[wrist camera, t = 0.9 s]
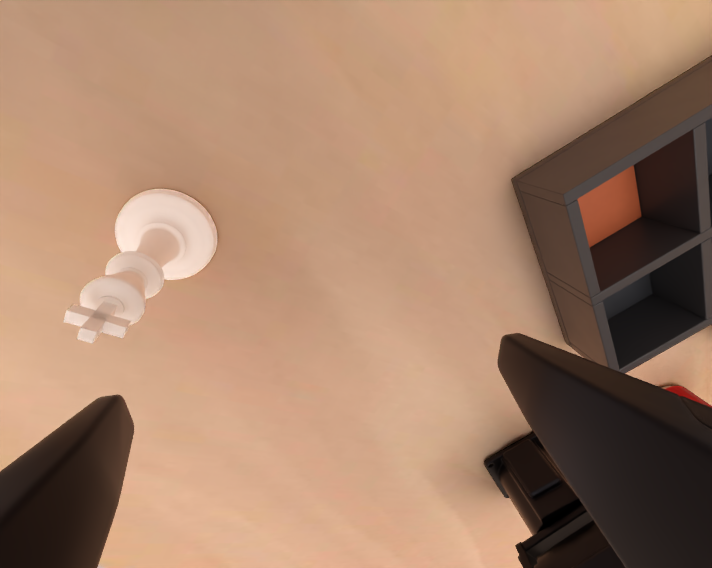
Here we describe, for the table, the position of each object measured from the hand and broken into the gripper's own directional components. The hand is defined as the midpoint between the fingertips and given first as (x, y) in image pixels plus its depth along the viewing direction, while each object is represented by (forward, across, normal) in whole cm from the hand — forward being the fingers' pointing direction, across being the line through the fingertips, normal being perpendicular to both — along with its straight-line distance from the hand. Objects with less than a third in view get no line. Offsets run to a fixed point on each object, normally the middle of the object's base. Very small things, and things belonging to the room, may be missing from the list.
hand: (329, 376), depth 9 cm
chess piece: (+14, +7, 0) cm, 16 cm away
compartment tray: (+14, -23, +2) cm, 27 cm away
